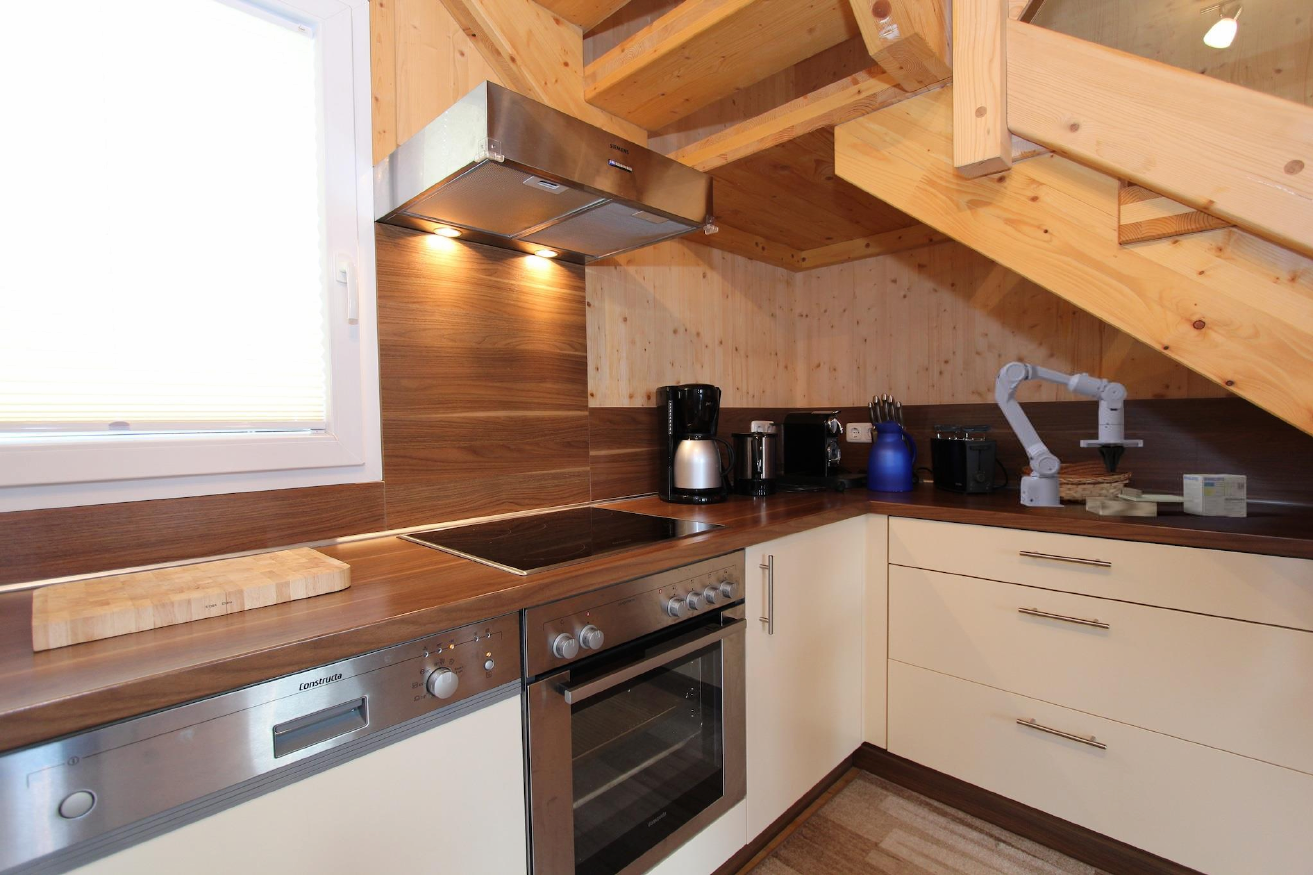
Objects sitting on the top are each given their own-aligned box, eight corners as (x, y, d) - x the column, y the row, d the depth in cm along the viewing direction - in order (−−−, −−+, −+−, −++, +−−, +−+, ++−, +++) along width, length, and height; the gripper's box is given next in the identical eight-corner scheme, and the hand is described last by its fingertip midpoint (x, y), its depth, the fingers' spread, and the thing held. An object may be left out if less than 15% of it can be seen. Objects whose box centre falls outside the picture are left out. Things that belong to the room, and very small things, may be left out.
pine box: (1101, 516, 155) (1101, 501, 154) (1086, 511, 164) (1086, 497, 164) (1156, 518, 151) (1156, 502, 151) (1137, 512, 161) (1137, 498, 161)
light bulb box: (1225, 513, 157) (1225, 473, 157) (1248, 517, 150) (1248, 475, 150) (1181, 513, 158) (1181, 473, 158) (1202, 517, 151) (1202, 475, 151)
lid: (1136, 501, 152) (1136, 491, 152) (1118, 496, 162) (1118, 487, 162) (1192, 502, 149) (1192, 491, 149) (1171, 497, 158) (1171, 487, 158)
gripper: (1087, 425, 167) (1087, 473, 167) (1148, 424, 163) (1148, 473, 163) (1077, 425, 174) (1077, 471, 174) (1136, 424, 170) (1136, 471, 170)
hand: (1111, 472), depth 169 cm, fingers closed
